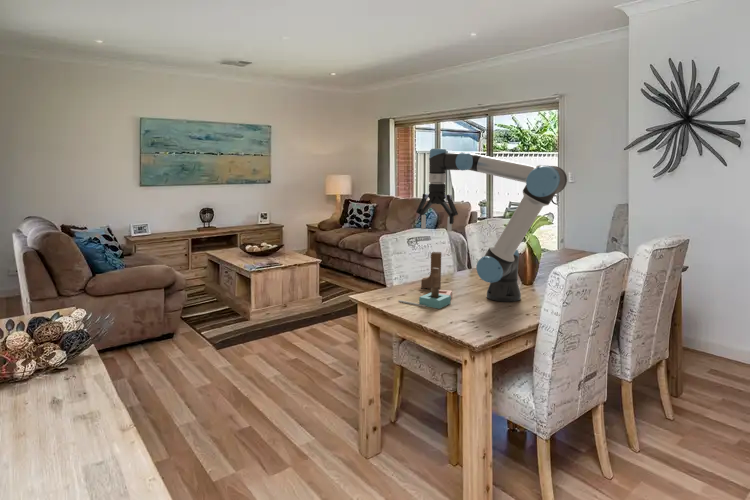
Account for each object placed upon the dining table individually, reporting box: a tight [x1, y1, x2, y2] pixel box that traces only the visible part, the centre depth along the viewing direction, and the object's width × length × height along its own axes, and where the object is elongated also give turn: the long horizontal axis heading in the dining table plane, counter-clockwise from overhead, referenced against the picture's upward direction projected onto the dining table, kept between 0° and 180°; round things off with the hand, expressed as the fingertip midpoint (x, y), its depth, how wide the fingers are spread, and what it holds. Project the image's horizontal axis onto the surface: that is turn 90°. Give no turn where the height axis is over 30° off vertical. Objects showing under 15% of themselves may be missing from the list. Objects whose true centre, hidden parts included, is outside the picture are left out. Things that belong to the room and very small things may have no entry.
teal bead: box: [418, 292, 452, 309], centre depth 216 cm, size 10×10×4 cm
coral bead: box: [439, 289, 453, 299], centre depth 225 cm, size 8×8×3 cm
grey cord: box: [398, 299, 427, 308], centre depth 216 cm, size 14×1×1 cm, turn 54°
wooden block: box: [420, 251, 442, 290], centre depth 243 cm, size 9×4×18 cm, turn 74°
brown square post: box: [430, 268, 440, 298], centre depth 214 cm, size 3×3×16 cm
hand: (436, 230), depth 226 cm, fingers open, 13 cm apart
